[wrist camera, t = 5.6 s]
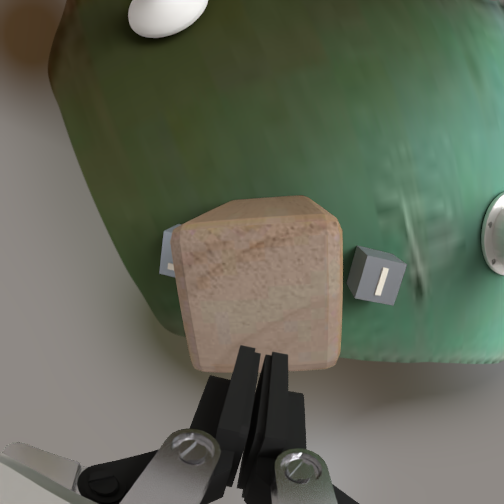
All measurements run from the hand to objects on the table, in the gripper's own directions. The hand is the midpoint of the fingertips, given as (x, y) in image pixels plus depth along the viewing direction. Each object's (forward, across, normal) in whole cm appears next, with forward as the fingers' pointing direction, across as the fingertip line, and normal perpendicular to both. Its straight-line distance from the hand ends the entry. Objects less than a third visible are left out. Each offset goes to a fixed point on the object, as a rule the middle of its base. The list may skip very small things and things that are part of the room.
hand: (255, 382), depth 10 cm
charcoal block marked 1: (+27, -12, +2) cm, 30 cm away
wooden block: (+27, +1, 0) cm, 27 cm away
